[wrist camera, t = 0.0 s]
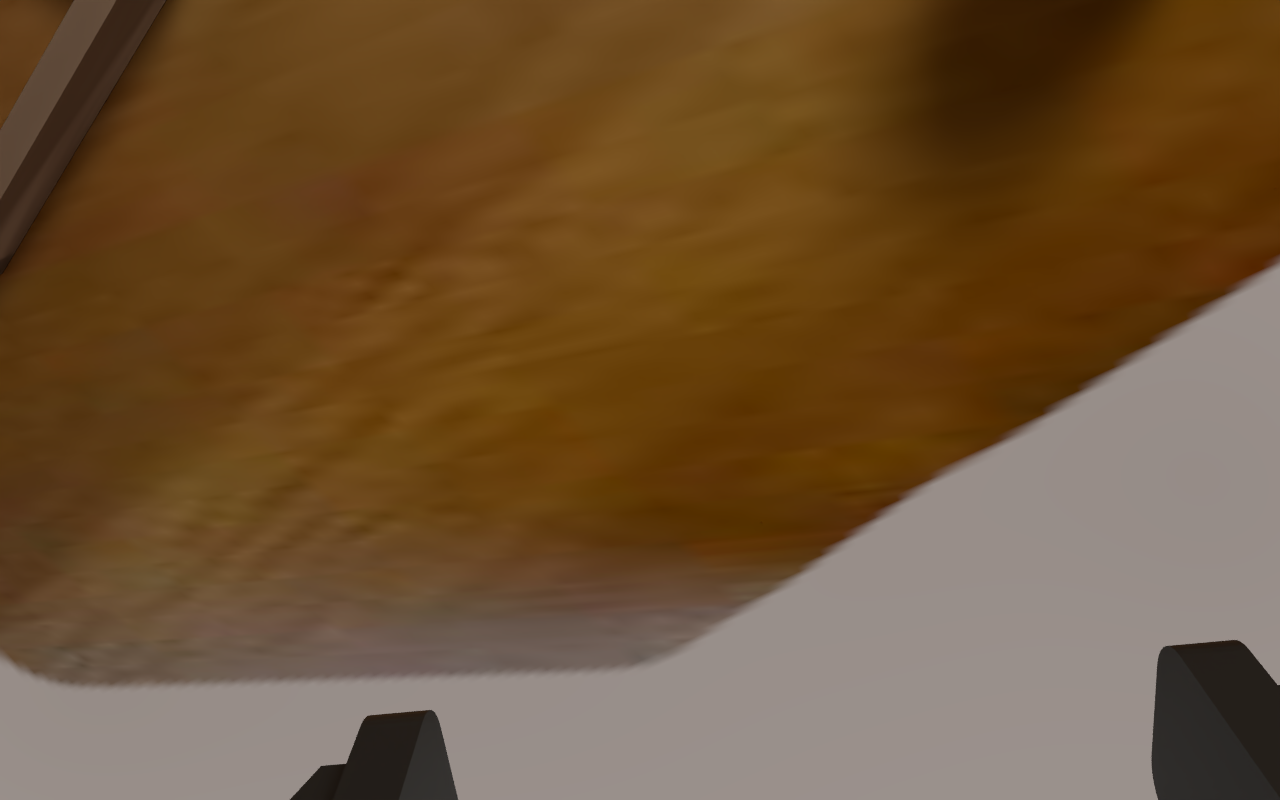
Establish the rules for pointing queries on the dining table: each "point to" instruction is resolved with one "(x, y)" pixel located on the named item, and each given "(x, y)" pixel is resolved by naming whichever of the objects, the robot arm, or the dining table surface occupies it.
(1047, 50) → the dining table surface
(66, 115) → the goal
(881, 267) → the dining table surface
